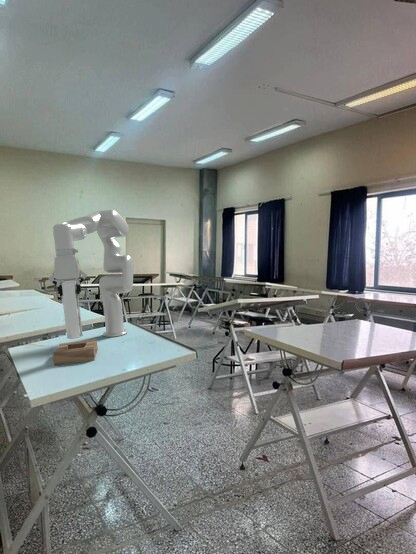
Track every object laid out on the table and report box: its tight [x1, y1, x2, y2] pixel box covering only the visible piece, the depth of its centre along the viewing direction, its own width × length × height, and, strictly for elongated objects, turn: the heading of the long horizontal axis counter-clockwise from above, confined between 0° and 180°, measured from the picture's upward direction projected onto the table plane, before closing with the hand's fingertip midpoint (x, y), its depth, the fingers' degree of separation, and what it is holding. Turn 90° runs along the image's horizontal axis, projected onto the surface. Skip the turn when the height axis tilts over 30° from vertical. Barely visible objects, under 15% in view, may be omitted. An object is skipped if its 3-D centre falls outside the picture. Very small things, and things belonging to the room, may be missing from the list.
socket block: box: [52, 338, 99, 366], centre depth 164 cm, size 16×16×5 cm
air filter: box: [61, 279, 83, 340], centre depth 162 cm, size 6×6×25 cm
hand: (70, 294), depth 161 cm, fingers closed on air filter, 6 cm apart
